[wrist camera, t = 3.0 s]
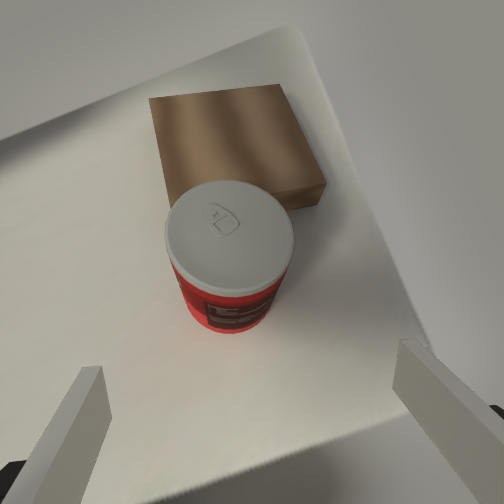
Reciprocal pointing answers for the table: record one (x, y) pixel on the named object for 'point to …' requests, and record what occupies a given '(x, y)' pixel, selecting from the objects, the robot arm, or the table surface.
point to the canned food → (229, 252)
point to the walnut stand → (236, 144)
